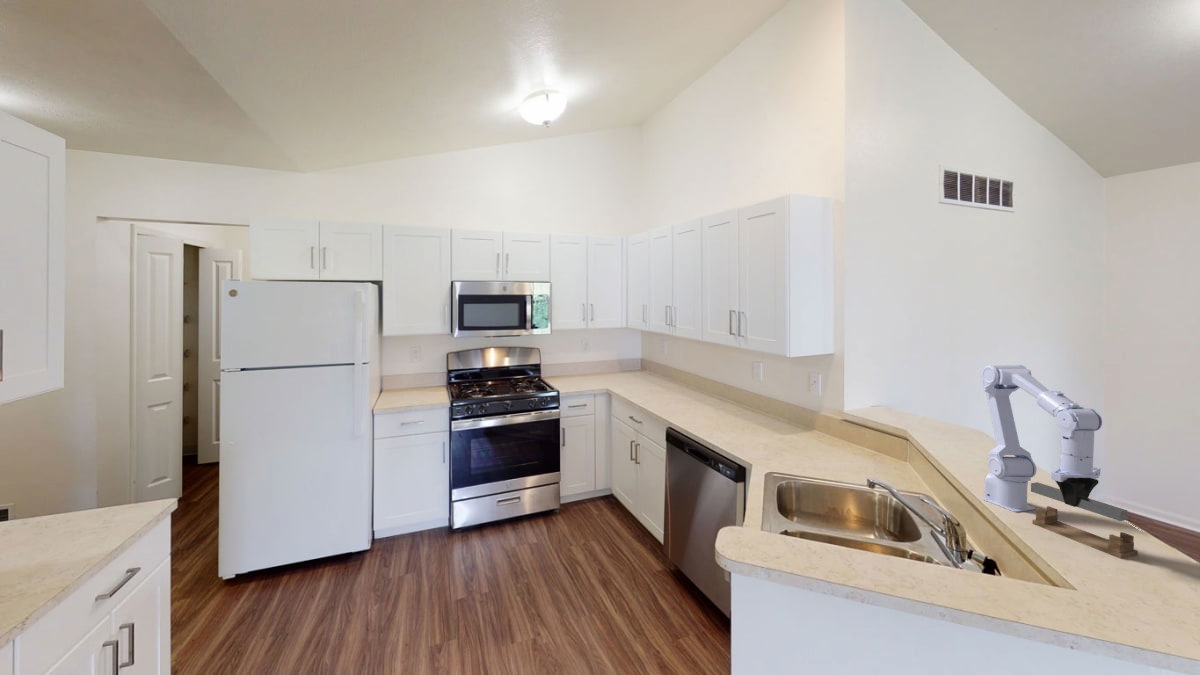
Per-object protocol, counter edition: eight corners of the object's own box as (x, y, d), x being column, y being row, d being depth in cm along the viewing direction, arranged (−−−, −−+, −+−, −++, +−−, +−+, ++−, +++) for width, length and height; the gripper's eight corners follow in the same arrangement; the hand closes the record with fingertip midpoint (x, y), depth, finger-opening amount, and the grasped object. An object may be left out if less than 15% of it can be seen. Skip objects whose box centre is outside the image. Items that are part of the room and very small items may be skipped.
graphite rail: (1030, 491, 121) (1030, 483, 121) (1036, 490, 122) (1037, 482, 122) (1120, 521, 104) (1120, 511, 104) (1127, 519, 104) (1127, 510, 104)
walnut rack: (1032, 523, 122) (1032, 507, 122) (1047, 520, 124) (1048, 505, 123) (1120, 558, 105) (1121, 540, 104) (1137, 554, 106) (1138, 536, 106)
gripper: (1076, 462, 107) (1074, 515, 107) (1117, 456, 110) (1115, 507, 111) (1042, 453, 113) (1040, 502, 114) (1081, 447, 117) (1079, 496, 118)
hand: (1074, 504), depth 113 cm, fingers closed on graphite rail, 2 cm apart
